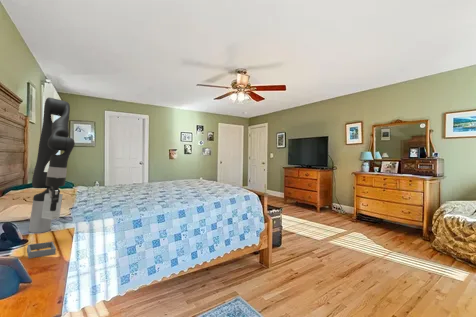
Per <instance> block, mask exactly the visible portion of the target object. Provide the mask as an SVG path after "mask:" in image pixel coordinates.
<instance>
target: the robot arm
mask: <svg viewBox="0 0 476 317" xmlns="http://www.w3.org/2000/svg"><path fill="white" fill-rule="evenodd" d="M70 109H71V106H70V103H69V101H66V100H62V99H58V98H55V97H46V99H45V101H44V108H43V119H42V128H41V133H40V138H39V142H38V150H37V151H38V152H37V157H36V162H35V167H34V169H33V170H34V171H33V172H32V179H31V185H32V187H33V188H34V189H45V190H43V191H42V192H39V193H37V194H34V195H33V198H32V203H31V204H32V206H31V212H30V220H29V225H28V232H29V233H32V234H33V233H34V234H38V233H46V232H49V231H51V227H52V220H53V219H45V218H41V217H42V210H43V204H44V197H45V194H48V193H49V194H50V199H51V205H50V211H56V206H57V203H58V202H59V201H58V200H59V194H61V189H59V188H60V187H64V186H66V179H67V172H68V171H67V168H68V163H69V162H68V161H69V158H70V155H71V153H72V151H73V150H74V148H75V144H76V143H75V142H76V141H75V140H74V139H73V138H71V137H69V136H70V130H69V121H70V113H71V112H70ZM52 115H53V116H57V117H58V118H56V119H55V120H54V121H53V118H52ZM59 151H60V152H61V151H62V152H63V153H61V154H58V153H59ZM47 164H48V169H47V171H45V169H46V167H47ZM55 198H56V200H53V199H55Z"/></svg>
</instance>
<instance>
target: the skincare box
mask: <svg viewBox="0 0 476 317" xmlns="http://www.w3.org/2000/svg"><path fill="white" fill-rule="evenodd" d="M53 200H56V198H55V199H53ZM58 201H59V202H58V203H57V206H56V211H50V205H51V199H50V194H49V193H48V194H45V197H44V204H43V210H42V217H41V218H45V219H52V220H55V219H56V220H57V219H59V218H60V215H61V210H62V202H63V194H61V193H60V194H59V200H58Z"/></svg>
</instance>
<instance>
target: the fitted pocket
mask: <svg viewBox="0 0 476 317" xmlns="http://www.w3.org/2000/svg"><path fill="white" fill-rule="evenodd" d="M56 251H57V247H56V246H55V244H54V241H48V242H46V241H45V242H38V243H30V244H27V248H26V252H27V258H28V259H33V258H40V257H45V256H46V257H47V256H52V255H56Z"/></svg>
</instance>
